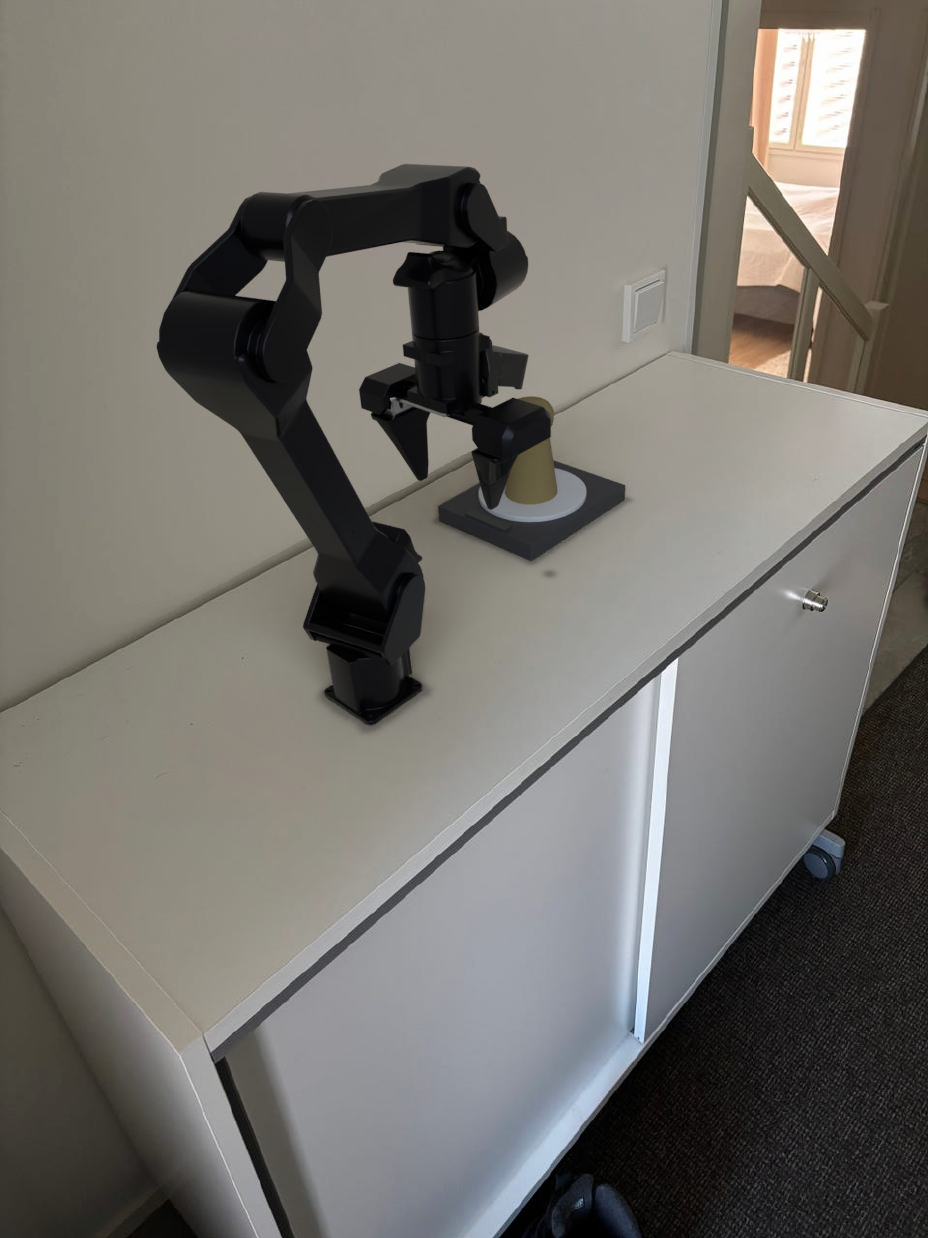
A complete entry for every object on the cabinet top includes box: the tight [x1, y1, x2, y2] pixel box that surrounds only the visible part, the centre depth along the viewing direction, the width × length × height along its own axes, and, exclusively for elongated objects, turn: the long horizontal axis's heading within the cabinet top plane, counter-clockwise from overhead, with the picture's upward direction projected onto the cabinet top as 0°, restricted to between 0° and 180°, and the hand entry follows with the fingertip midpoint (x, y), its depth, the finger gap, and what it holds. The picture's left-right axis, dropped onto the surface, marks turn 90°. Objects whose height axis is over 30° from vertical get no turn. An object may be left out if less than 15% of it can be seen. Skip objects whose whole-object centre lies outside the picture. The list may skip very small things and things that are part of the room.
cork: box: [505, 395, 557, 504], centre depth 102 cm, size 6×6×11 cm
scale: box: [437, 459, 626, 562], centre depth 107 cm, size 17×14×3 cm
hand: (456, 492), depth 87 cm, fingers open, 9 cm apart
